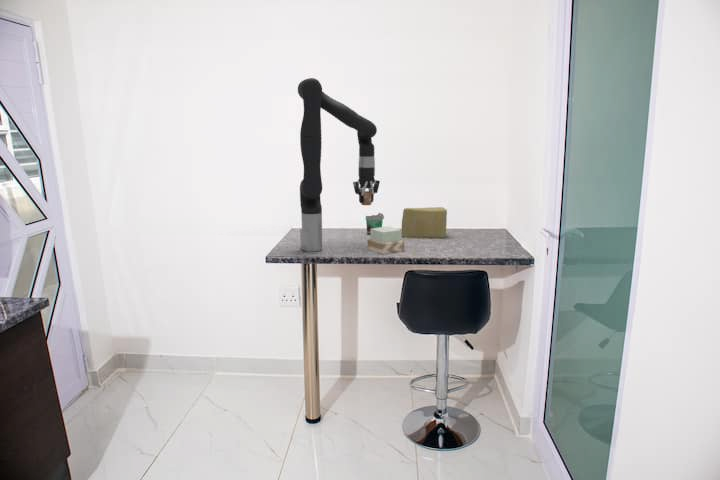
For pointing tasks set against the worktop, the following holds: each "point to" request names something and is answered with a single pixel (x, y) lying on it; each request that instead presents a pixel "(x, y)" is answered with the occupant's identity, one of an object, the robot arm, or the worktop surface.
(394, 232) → the top block
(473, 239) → the worktop surface
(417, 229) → the cheese
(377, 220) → the food container
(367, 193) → the round block
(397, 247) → the bottom block
